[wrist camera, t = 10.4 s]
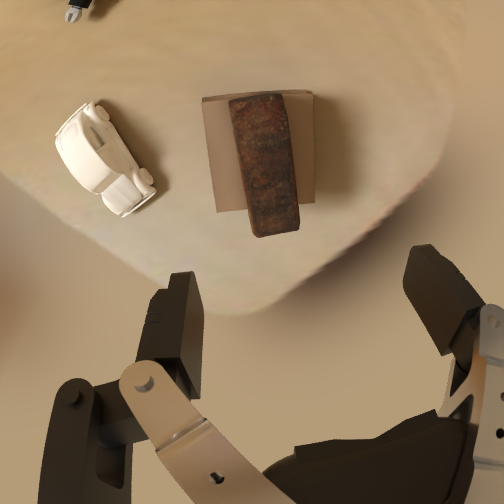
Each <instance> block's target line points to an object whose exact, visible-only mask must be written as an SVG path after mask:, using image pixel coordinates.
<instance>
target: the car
mask: <svg viewBox="0 0 504 504" xmlns="http://www.w3.org/2000/svg"><path fill="white" fill-rule="evenodd" d="M86 105H87V103H85V104H84V105H83V106H82V107H80V108H79V109H78V110H77V111H76V112H75V113H74V114H73V115H72V116H71V117H70V118H69V119H68V120H67V121H66V122H65V123H64V125H63V126H62V127H61V128H60V130H59V131H58V132H57V134H56V136H57V135H58V134H59V133H60V131H61V133H60V134H59V136H58V137H57V138H56V141H55V142H56V147H57V150H58V152H59V153H60V155H61V158H62V159H63V161H64V163H65V164H66V166H67V167H68V169H69V170H70V172H71V173H72V174H73V176H74V177H75V178H76V179H77V180H78V181H79V183H80V184H81V185H82V186H83V187H85V188H86V189H87V190H89V191H90V192H93V193H95V194H94V196H95V195H97V194H101V195H102V198H103V201H104V203H105V205H106V206H107V207H108V208H109V209H110V210H111V211H113V212H114V213H116V214H118V215H119V216H122V215H123V216H122V218H123V217H125V216H127V215H128V214H130V213H131V212H133V211H134V210H135V209H137V208H138V207H139V206H141V205H142V204H143V203H145V202H146V201H147V200H148V199H150V198H151V197H152V196H153V195H154V194H155V193H156V192H157V190H156V189H155V188H154V187H151V186H150V185H152V184H153V178H152V176H151V175H150V174H149V172H148V171H147V170H146V169H145V168H141V169H140V170H139V166H138V165H137V163H136V162H135V160H134V159H133V157H132V155H131V154H130V152H129V151H128V149H127V147H126V146H125V144H124V142H123V141H122V139H121V138H120V136H119V134H118V133H117V131H116V129H115V128H114V126H113V124H112V123H111V122H110V121H108V120H109V118H110V117H109V115H108V113H107V112H106V111H105V109H104V108H103V107H101V106H99V105H97V106H96V107H95V106H94V105H95V103H94V100H93V101H92V102H91V103H90V104H88V105H87V106H86ZM84 106H86V107H85V108H84V109H82V108H83V107H84ZM80 110H81V111H80ZM79 111H80V112H79ZM76 113H77V114H76ZM75 114H76V115H75ZM74 115H75V116H74ZM65 125H66V126H65ZM64 126H65V127H64ZM63 127H64V129H63ZM62 129H63V130H62ZM106 129H107V130H106ZM151 193H152V194H151ZM150 194H151V195H150ZM149 195H150V196H149ZM147 196H149V197H147ZM146 197H147V198H146ZM144 198H146V199H145V200H144V201H142V202H141V203H140V204H138V205H137V206H136V207H134V205H136V204H137V203H138V202H140V201H141V200H142V199H144ZM133 207H134V208H133ZM131 208H133V209H131ZM130 209H131V210H130ZM129 210H130V211H129ZM126 212H127V213H126Z"/></svg>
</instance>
